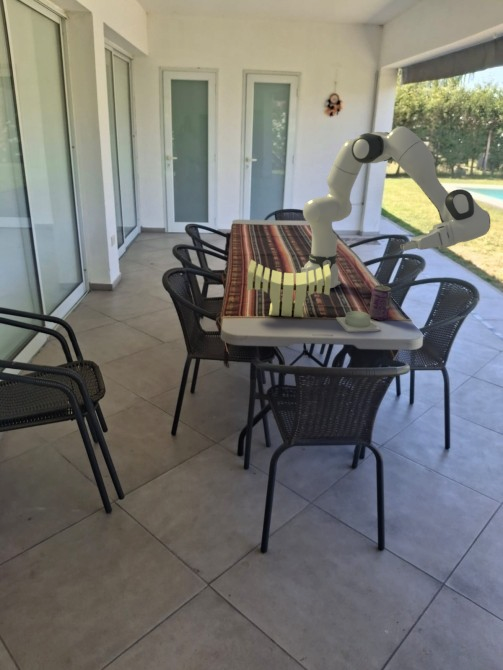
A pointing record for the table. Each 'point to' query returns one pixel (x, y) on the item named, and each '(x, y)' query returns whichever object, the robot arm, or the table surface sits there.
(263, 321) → the table surface
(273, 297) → the slatted curved stool
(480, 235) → the robot arm
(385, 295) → the beverage can
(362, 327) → the pedestal stand
